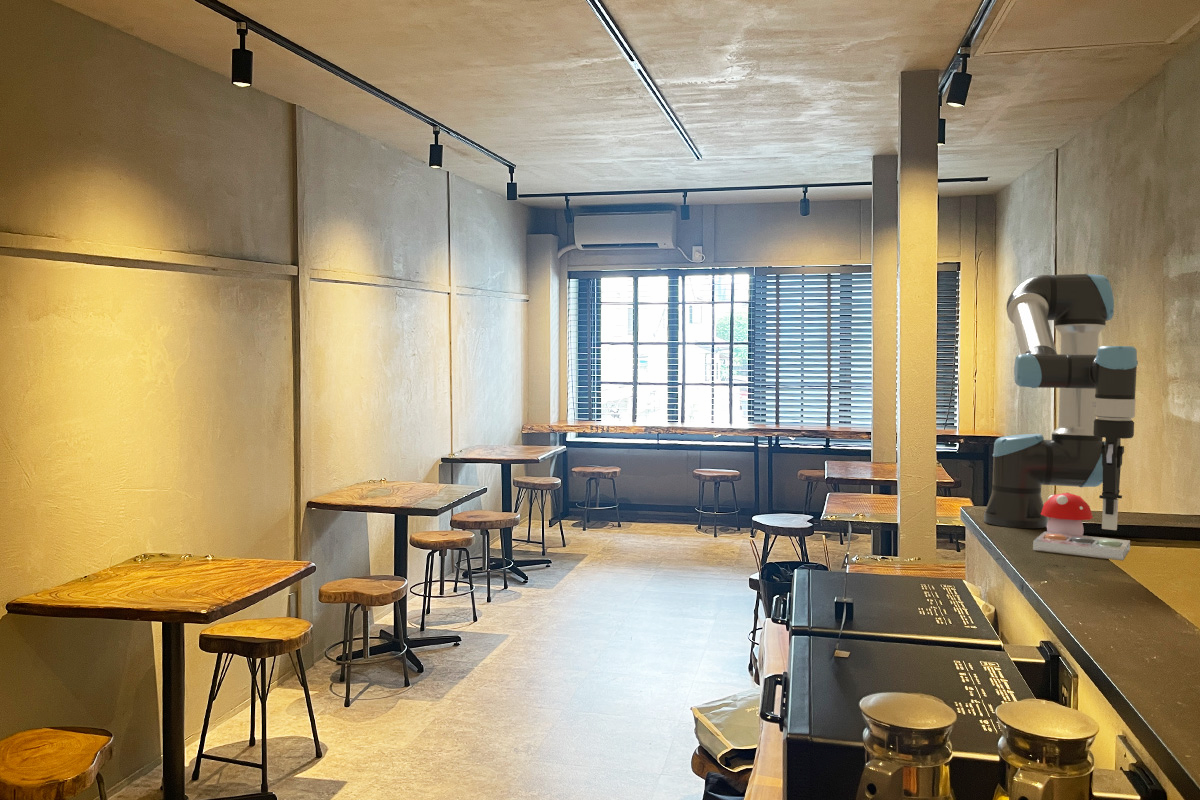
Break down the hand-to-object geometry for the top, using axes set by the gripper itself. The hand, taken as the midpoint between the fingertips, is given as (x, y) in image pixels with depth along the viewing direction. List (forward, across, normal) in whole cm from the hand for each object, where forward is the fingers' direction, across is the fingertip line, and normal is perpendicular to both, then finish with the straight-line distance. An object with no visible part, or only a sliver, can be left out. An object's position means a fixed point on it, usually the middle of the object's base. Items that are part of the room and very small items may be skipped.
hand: (1109, 528), depth 199 cm
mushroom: (+7, -14, -10) cm, 18 cm away
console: (+7, 0, -5) cm, 8 cm away
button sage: (+5, 0, 0) cm, 5 cm away
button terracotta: (+5, 0, -10) cm, 11 cm away
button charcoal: (+5, 0, -5) cm, 7 cm away
